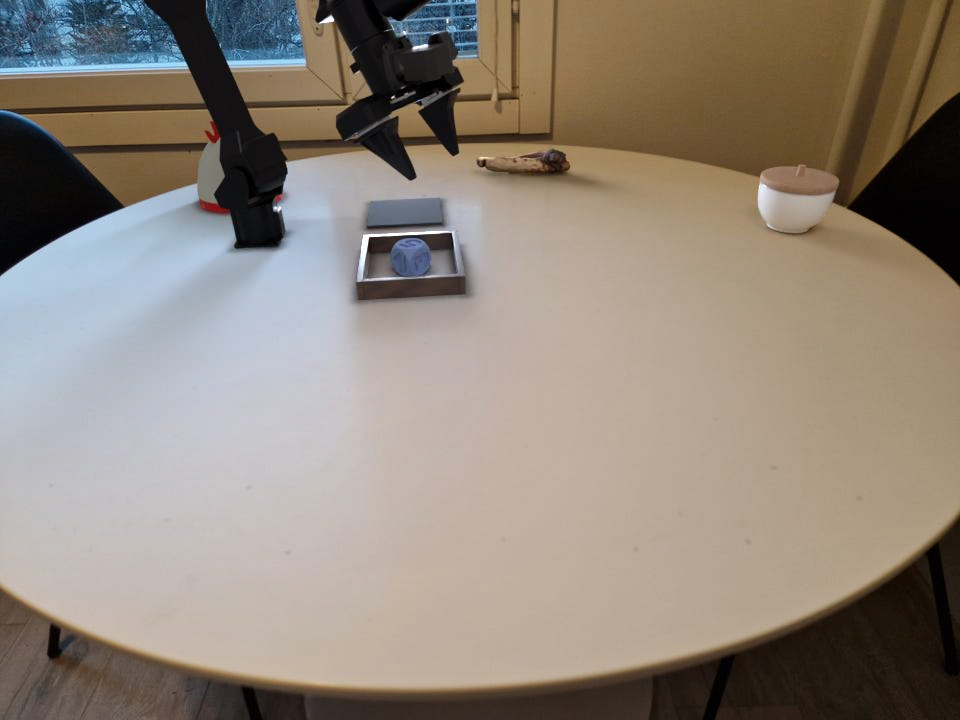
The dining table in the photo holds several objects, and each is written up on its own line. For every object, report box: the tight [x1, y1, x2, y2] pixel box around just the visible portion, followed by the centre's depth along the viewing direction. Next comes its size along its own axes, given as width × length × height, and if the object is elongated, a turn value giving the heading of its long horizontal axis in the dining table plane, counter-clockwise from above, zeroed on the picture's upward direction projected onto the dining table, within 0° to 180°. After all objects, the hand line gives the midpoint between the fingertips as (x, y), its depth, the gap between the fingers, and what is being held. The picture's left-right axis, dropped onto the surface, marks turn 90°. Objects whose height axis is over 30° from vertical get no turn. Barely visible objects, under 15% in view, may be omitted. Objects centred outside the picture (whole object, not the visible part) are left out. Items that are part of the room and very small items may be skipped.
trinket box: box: [757, 163, 840, 234], centre depth 98 cm, size 11×11×9 cm
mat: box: [366, 197, 444, 229], centre depth 108 cm, size 12×12×1 cm
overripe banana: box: [476, 148, 571, 175], centre depth 126 cm, size 9×5×18 cm
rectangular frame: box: [355, 230, 467, 301], centre depth 88 cm, size 14×16×2 cm
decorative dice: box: [390, 238, 432, 277], centre depth 87 cm, size 4×4×4 cm
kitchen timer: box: [196, 120, 283, 214], centre depth 111 cm, size 14×14×15 cm
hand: (435, 166), depth 80 cm, fingers open, 9 cm apart
